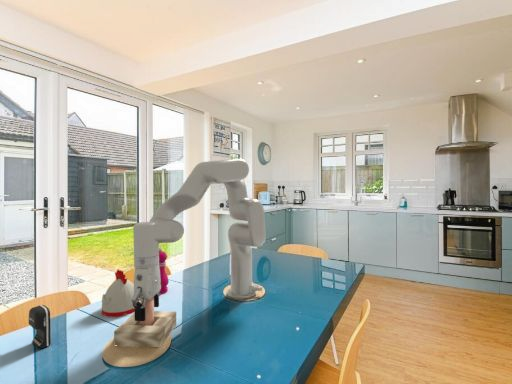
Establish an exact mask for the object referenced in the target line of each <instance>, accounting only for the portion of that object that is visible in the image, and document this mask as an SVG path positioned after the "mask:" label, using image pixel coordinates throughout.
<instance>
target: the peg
mask: <svg viewBox="0 0 512 384" xmlns="http://www.w3.org/2000/svg"><path fill="white" fill-rule="evenodd" d="M140 298H144V297H140ZM141 304H142V301H141ZM144 308H145V315H146V320H145V321H141V325H146V326H152V325H153V324H154V311H155V307H154V296H153V297H152V298H151V299H150V300H147V299H146V302H145V305H144Z"/></svg>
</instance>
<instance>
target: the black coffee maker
mask: <svg viewBox="0 0 512 384" xmlns="http://www.w3.org/2000/svg"><path fill="white" fill-rule="evenodd" d="M28 311H29V312H28V324H29V326H30V327H32V328H33V329H34V330H36V331H35V334H34V335H35V336H34V337H33V339H32V341H31V343H32V345H33V346H34V347H35V348H37V349H44V348H46V346H47V347H49V346H51V345H52V342H51V340H52V339H51V311H50V308H49V307H47V306H46V305H44V304H39V305H36V306H33V307H32V308H30V309H29V310H28Z"/></svg>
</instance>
